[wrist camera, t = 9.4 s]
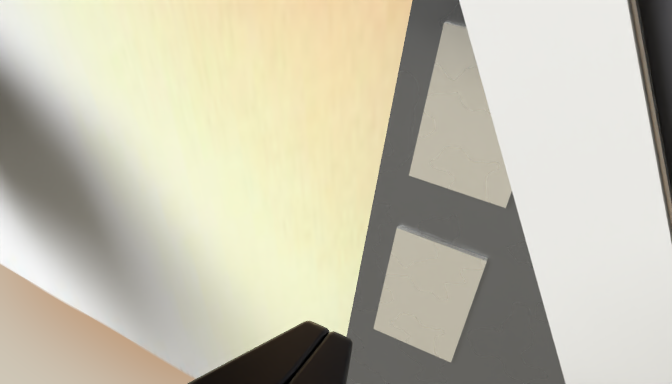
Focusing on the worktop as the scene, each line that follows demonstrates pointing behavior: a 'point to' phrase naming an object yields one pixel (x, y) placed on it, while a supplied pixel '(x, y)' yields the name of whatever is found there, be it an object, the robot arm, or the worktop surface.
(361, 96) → the worktop surface
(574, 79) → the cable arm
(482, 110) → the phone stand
